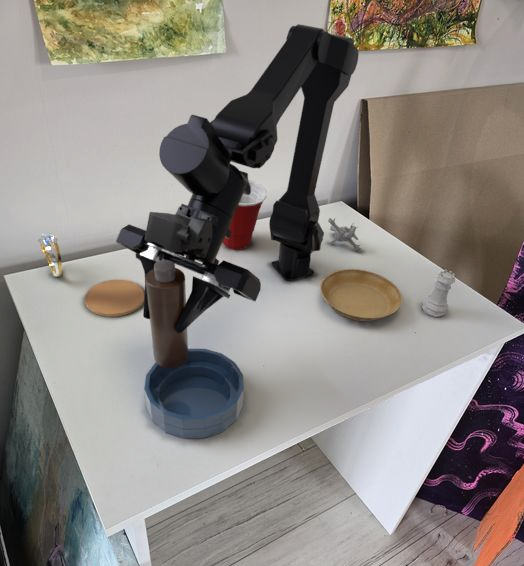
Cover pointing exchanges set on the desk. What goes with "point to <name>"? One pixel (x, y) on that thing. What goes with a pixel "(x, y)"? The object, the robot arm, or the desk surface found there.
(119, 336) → the desk surface
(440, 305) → the rook chess piece
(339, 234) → the gray branched figurine
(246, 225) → the plastic cup
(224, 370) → the bowl
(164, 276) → the bottle
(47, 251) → the ring
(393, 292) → the plant saucer
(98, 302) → the cork coaster
